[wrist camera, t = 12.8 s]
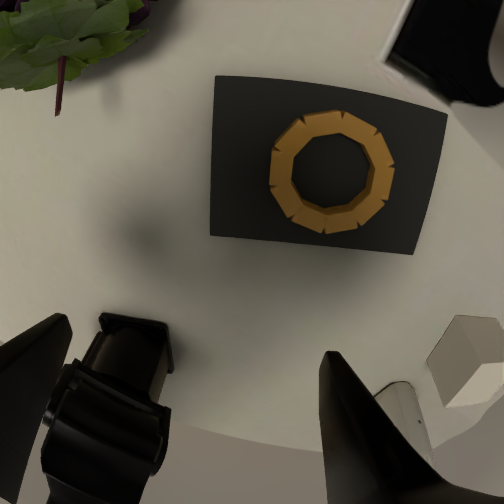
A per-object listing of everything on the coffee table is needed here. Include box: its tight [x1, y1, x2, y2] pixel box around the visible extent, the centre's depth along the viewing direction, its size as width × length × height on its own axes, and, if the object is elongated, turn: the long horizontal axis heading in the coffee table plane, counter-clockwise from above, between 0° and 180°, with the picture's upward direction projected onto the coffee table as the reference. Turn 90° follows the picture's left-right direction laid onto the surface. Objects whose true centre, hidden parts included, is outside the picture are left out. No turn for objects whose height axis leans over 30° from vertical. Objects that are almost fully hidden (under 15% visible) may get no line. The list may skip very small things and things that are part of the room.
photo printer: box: [375, 382, 435, 470], centre depth 25 cm, size 10×4×12 cm, turn 155°
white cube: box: [427, 315, 504, 408], centre depth 22 cm, size 6×6×6 cm
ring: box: [269, 109, 395, 234], centre depth 17 cm, size 7×7×1 cm
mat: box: [210, 76, 448, 255], centre depth 18 cm, size 14×10×1 cm
